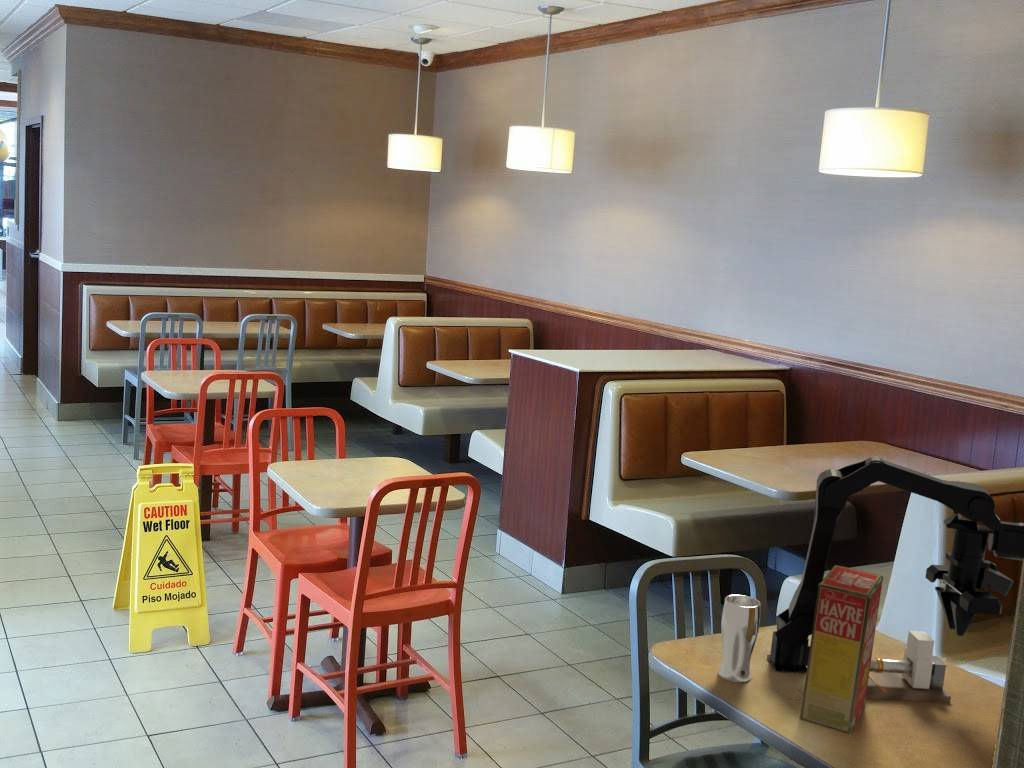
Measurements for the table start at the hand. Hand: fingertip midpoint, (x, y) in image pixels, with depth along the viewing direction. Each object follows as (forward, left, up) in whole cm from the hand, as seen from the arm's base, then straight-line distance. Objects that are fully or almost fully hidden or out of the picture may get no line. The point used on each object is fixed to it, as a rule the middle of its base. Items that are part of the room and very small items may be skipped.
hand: (955, 632), depth 193 cm
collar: (-6, 0, -10) cm, 12 cm away
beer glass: (-40, +2, -12) cm, 42 cm away
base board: (-10, 0, -12) cm, 16 cm away
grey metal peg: (-11, 0, -11) cm, 15 cm away
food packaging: (-26, -11, -12) cm, 31 cm away
